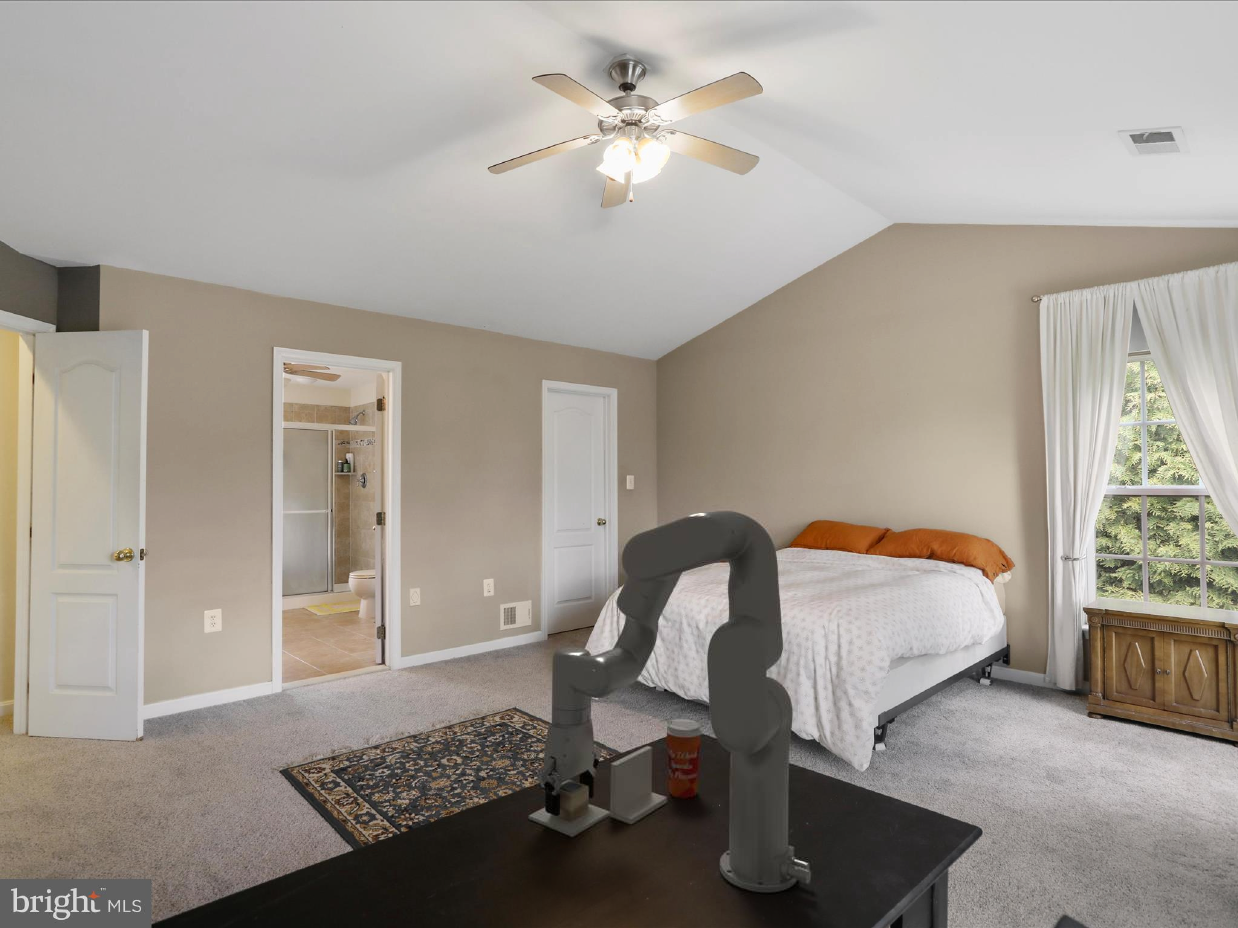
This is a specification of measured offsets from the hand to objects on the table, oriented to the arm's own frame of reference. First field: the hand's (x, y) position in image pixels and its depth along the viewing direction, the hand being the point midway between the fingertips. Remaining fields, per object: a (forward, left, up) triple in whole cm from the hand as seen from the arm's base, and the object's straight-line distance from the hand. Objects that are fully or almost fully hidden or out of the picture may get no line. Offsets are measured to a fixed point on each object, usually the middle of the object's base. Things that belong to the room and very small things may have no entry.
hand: (569, 804), depth 136 cm
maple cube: (0, 0, -2) cm, 2 cm away
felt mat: (0, 0, -2) cm, 2 cm away
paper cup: (-11, -23, -2) cm, 26 cm away
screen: (-8, -11, -2) cm, 14 cm away
